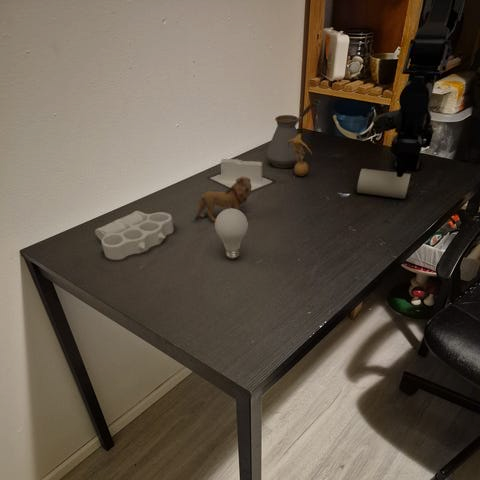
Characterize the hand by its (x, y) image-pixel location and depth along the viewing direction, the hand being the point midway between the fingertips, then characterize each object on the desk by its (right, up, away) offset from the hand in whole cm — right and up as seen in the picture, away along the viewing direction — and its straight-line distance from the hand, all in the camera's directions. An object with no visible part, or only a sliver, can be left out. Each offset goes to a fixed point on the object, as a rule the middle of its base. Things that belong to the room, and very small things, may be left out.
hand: (401, 169), depth 104 cm
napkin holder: (-40, +2, +16) cm, 43 cm away
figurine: (-23, +3, +16) cm, 28 cm away
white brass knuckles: (-64, -19, -7) cm, 67 cm away
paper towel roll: (-3, -5, +6) cm, 8 cm away
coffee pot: (-23, +13, +27) cm, 37 cm away
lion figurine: (-44, -12, 0) cm, 45 cm away
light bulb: (-41, -24, -14) cm, 50 cm away
